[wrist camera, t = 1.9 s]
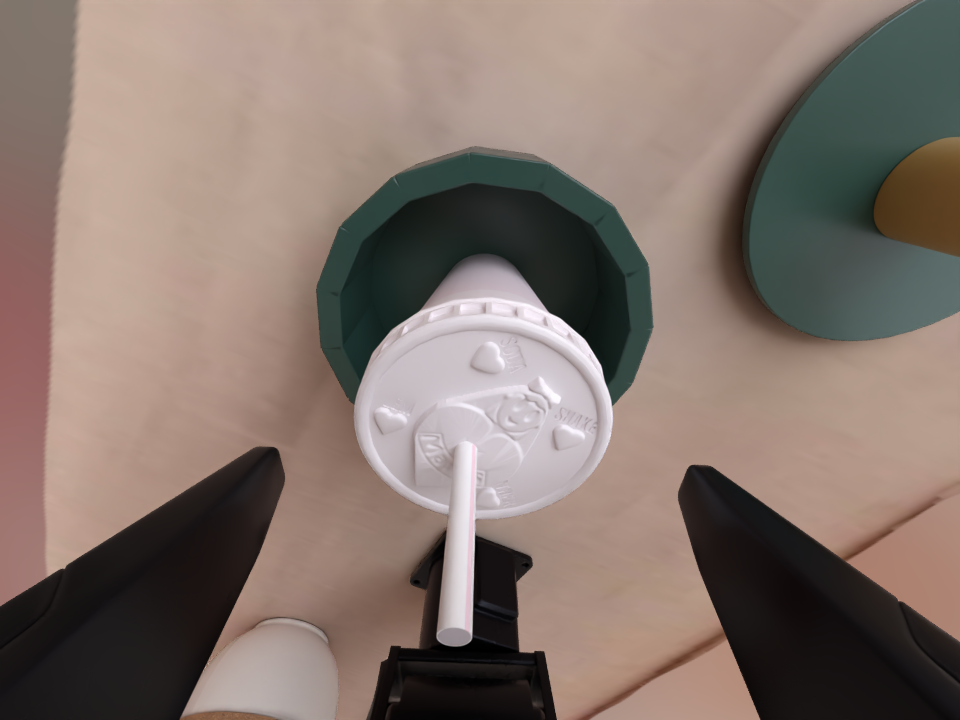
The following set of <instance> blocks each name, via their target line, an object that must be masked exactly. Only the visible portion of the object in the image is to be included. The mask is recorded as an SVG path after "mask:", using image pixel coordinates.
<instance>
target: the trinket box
mask: <svg viewBox="0 0 960 720" xmlns="http://www.w3.org/2000/svg"><path fill="white" fill-rule="evenodd" d="M338 699H339V673H338V668H337V664H336V660H335V658H334V655H333V653H332V651H331V650H330V648H329V646H328V638H327V637H326V635H325V634H324V633H323V632H322V631H321V630H320V629H318V628H317V627H315V626H313V625H311V624H309V623H306V622H303V621H300V620H295V619H289V618H274V619H268V620H265V621H262V622H260V623H259V624H257V625H256V626H255V628H254V629H252V630H250V631H248V632H246V633H244V634H243V635H241V636H239V637H238V638H236V639H235V640H233V641H232V642H231V643H229V644H228V645H227V646H226V647H224V648H223V649H222V650H221V651H220V653H219V654H218V655H217V656H216V657H215V658H214V659H213V660H212V661H211V662H210V663H209V665H208V666H207V667H206V669H205V670H204V671H203V672H202V674H201V676H200V678H199V680H198V683H197V685H196V687H195V689H194V691H193V693H192V695H191V697H190V699H189V701H188V703H187V705H186V708H185V710H184V712H183V714H182V716H181V718H180V720H336V715H337V708H338Z"/></svg>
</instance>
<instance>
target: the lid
mask: <svg viewBox="0 0 960 720" xmlns="http://www.w3.org/2000/svg"><path fill="white" fill-rule="evenodd" d="M742 245H743V257H744V262H745V268H746V272H747V275H748V277H749V280H750V283H751V286H752V288H753V289H754V291H755V293H756V294H757V296H758V298H759V299H760V301H761V302H762V303H763V304H764V305H765V306H766V308H767V309H768V310H769V311H770V312H771V313H773V314H774V315H775V316H776V317H778V318H779V319H780V320H781V321H783V322H784V323H786V324H788V325H789V326H791V327H793V328H795V329H797V330H799V331H801V332H803V333H806V334H809V335H812V336H815V337H820V338H825V339H830V340H841V341H862V340H873V339H880V338H886V337H891V336H895V335H899V334H903V333H907V332H911V331H914V330H916V329H919V328H922V327H925V326H928V325H931V324H933V323H935V322H938V321H940V320H942V319H944V318H947V317H949V316H951V315H953V314H955V313H957V312H959V311H960V0H916V1H914V2H912V3H911V4H909V5H907V6H905V7H903V8H902V9H900V10H899V11H897V12H895V13H894V14H892V15H891V16H889V17H888V18H886V19H885V20H883V21H882V22H880V23H879V24H877V25H876V26H874V27H873V28H872V29H870V30H869V31H868V32H867V33H865V34H864V35H863V36H862V37H860V38H859V39H858V40H857V41H855V42H854V43H853V44H852V45H850V46H849V47H848V48H847V49H846V50H845V51H844V52H843V53H842V54H841V55H839V56H838V57H837V58H836V59H835V60H834V61H833V62H832V63H831V64H830V65H829V66H828V67H827V68H826V69H825V70H824V71H823V72H822V73H821V74H820V75H819V76H818V78H817V79H816V80H815V81H814V82H813V83H812V84H811V85H810V87H809V88H808V89H807V90H806V91H805V92H804V93H803V95H802V96H801V97H800V99H799V100H798V101H797V103H796V104H795V105H794V107H793V108H792V110H791V111H790V112H789V114H788V115H787V116H786V118H785V119H784V121H783V122H782V124H781V126H780V127H779V129H778V131H777V132H776V134H775V136H774V137H773V139H772V141H771V142H770V144H769V146H768V148H767V150H766V152H765V154H764V156H763V158H762V161H761V163H760V165H759V167H758V169H757V172H756V175H755V178H754V180H753V183H752V186H751V189H750V192H749V196H748V200H747V204H746V209H745V213H744V222H743V231H742Z"/></svg>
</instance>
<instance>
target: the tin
mask: <svg viewBox="0 0 960 720" xmlns="http://www.w3.org/2000/svg"><path fill="white" fill-rule="evenodd" d="M475 254H493V255H497V256H500V257H502V258H504V259H506V260H508V261H509V262H510V263H512V264H513V265H514V266H515V267H516V268H517V270H518V271H519V272H520V274H521V275H522V276H523V278H524V279H525V281H526V282H527V283H528V285H529V286H530V287H531V289H532V290H533V292H534V293H535V294H536V296H537V297H538V298H539V300H540V301H541V303H542V304H543V305H544V307H545V308H546V309H547V311H548V312H549V313H550V314H552V315H554V316H556V317H559V318H560V319H562V320H563V321H564V322H565V323H566V324H567V325H569V326H570V327H571V328H572V329H573V330H574V331H576V332H577V333H578V334H579V335H580V336H581V337H582V338H584V339H585V340H586V342H587V344H588V345H589V347H590V349H591V350H592V352H593V353H594V355H595V357H596V358H597V360H598V361H599V363H600V365H601V367H602V372H603V376H604V380H605V383H606V386H607V388H608V391H609V394H610V398H611V403H612V406H613V405H614V404H615V403H616V402H617V401H618V399H619V398H620V397H621V396H622V395H623V394H624V393H625V392H626V391H627V390H628V388H629V387H630V386H631V385H632V383H633V382H634V379H635V376H636V374H637V371H638V368H639V365H640V363H641V360H642V357H643V355H644V352H645V349H646V346H647V344H648V341H649V338H650V336H651V333H652V328H653V315H652V301H651V287H650V274H649V266H648V263H647V261H646V259H645V257H644V256H643V254H642V252H641V251H640V249H639V247H638V246H637V244H636V242H635V240H634V239H633V237H632V235H631V234H630V232H629V230H628V228H627V227H626V225H625V223H624V222H623V220H622V218H621V216H620V215H619V213H618V211H617V210H616V208H615V206H613V205H612V204H611V203H610V202H608V201H607V200H605V199H604V198H602V197H601V196H599V195H598V194H596V193H595V192H593V191H592V190H590V189H589V188H587V187H586V186H584V185H583V184H581V183H580V182H578V181H577V180H575V179H574V178H572V177H571V176H569V175H568V174H566V173H564V172H563V171H561V170H560V169H558V168H557V167H555V166H554V165H552V164H551V163H549V162H547V161H545V160H543V159H541V158H539V157H537V156H535V155H533V154H526V153H519V152H512V151H506V150H498V149H490V148H483V147H476V146H475V147H470V148H466V149H463V150H460V151H457V152H454V153H450V154H447V155H444V156H441V157H438V158H434V159H431V160H428V161H425V162H422V163H418V164H416V165H414V166H412V167H410V168H408V169H406V170H404V171H402V172H400V173H398V174H397V175H395V176H393V177H391V178H390V179H389V180H388V181H387V182H386V183H385V184H384V185H383V186H382V187H381V188H380V189H379V190H378V191H376V192H375V193H374V194H373V195H372V196H371V197H370V198H369V199H368V200H367V201H366V202H365V203H364V204H362V205H361V206H360V207H359V208H358V209H357V210H356V211H355V212H354V213H353V214H352V215H351V216H350V217H348V218H347V219H346V220H345V221H344V222H343V223H342V225H341V226H340V227H339V229H338V232H337V234H336V237H335V239H334V242H333V245H332V247H331V250H330V252H329V255H328V258H327V260H326V263H325V266H324V268H323V271H322V273H321V276H320V279H319V281H318V284H317V289H316V293H317V305H318V318H319V330H320V343H321V348H322V351H323V353H324V354H325V356H326V358H327V360H328V362H329V364H330V366H331V368H332V370H333V371H334V373H335V375H336V377H337V379H338V381H339V383H340V385H341V387H342V388H343V390H344V392H345V394H346V396H347V398H349V401H351V402H352V403H353V404H354V405H355V401H356V395H357V392H358V389H359V386H360V384H361V382H362V378H363V376H364V373H365V371H366V368H367V365H368V363H369V360H370V358H371V355H372V353H373V352H374V351H375V349H376V348H377V347H378V346H379V345H380V343H381V342H382V341H383V340H384V339H385V337H386V336H387V335H388V334H389V333H390V331H391V330H392V329H393V328H395V327H396V326H398V325H399V324H401V323H402V322H404V321H405V320H407V319H408V318H410V317H411V316H413V315H414V314H416V313H417V312H419V311H420V310H421V309H422V308H423V306H424V305H425V304H426V302H427V301H428V300H429V298H430V297H431V296H432V294H433V293H434V292H435V290H436V289H437V288H438V286H439V285H440V284H441V282H442V281H443V280H444V278H445V277H446V276H447V274H448V273H449V272H450V270H451V269H452V268H453V267H454V266H455V265H456V264H457V263H458V262H459V261H461V260H462V259H464V258H466V257H469V256H471V255H475Z"/></svg>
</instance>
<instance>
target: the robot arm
mask: <svg viewBox="0 0 960 720" xmlns="http://www.w3.org/2000/svg"><path fill="white" fill-rule="evenodd" d="M284 482H285V473H284V469H283V466H282V462H281V458H280V454H279V451H278V450H277V448H275V447H262V446H259V447H255V448H253V449H251V450H250V451H248V452H247V453H245V454H243V455H242V456H240V457H239V458H237V459H235V460H234V461H232V462H231V463H229V464H227V465H226V466H224V467H223V468H221V469H219V470H218V471H216V472H215V473H213V474H212V475H210V476H208V477H207V478H205V479H204V480H202V481H200V482H199V483H197V484H196V485H194V486H192V487H191V488H189V489H188V490H186V491H184V492H183V493H181V494H180V495H178V496H176V497H175V498H173V499H172V500H170V501H168V502H167V503H165V504H164V505H162V506H160V507H159V508H157V509H156V510H154V511H152V512H151V513H149V514H148V515H146V516H145V517H143V518H141V519H140V520H138V521H137V522H135V523H133V524H132V525H130V526H129V527H127V528H125V529H124V530H122V531H121V532H119V533H117V534H116V535H114V536H113V537H111V538H109V539H108V540H106V541H105V542H103V543H101V544H100V545H98V546H97V547H95V548H93V549H92V550H90V551H89V552H87V553H85V554H84V555H82V556H81V557H79V558H77V559H76V560H74V561H73V562H71V563H69V564H68V565H67V566H66V568H65V569H60V570H58V571H57V572H55V573H53V574H52V575H50V576H49V577H47V578H45V579H44V580H42V581H41V582H39V583H37V584H36V585H34V586H33V587H31V588H29V589H28V590H26V591H24V592H23V593H21V594H20V595H18V596H16V597H15V598H13V599H11V600H10V601H8V602H6V603H5V604H3V605H2V606H0V720H180V718H181V716H182V714H183V712H184V710H185V708H186V705H187V703H188V701H189V699H190V697H191V695H192V693H193V691H194V689H195V687H196V685H197V683H198V680H199V678H200V676H201V674H202V672H203V670H204V668H205V666H206V664H207V662H208V660H209V658H210V655H211V653H212V651H213V649H214V647H215V645H216V643H217V641H218V639H219V637H220V635H221V633H222V630H223V628H224V626H225V624H226V622H227V620H228V618H229V616H230V614H231V612H232V610H233V608H234V605H235V603H236V601H237V599H238V597H239V595H240V593H241V591H242V589H243V587H244V585H245V583H246V580H247V578H248V576H249V574H250V572H251V570H252V568H253V566H254V564H255V562H256V559H257V557H258V555H259V553H260V550H261V548H262V545H263V542H264V540H265V537H266V534H267V531H268V529H269V526H270V523H271V520H272V517H273V514H274V512H275V509H276V506H277V503H278V500H279V498H280V495H281V492H282V489H283V486H284ZM678 501H679V505H680V508H681V511H682V515H683V518H684V522H685V525H686V528H687V532H688V535H689V538H690V542H691V545H692V549H693V552H694V555H695V559H696V562H697V565H698V568H699V571H700V573H701V576H702V579H703V581H704V584H705V586H706V588H707V591H708V593H709V596H710V598H711V601H712V603H713V605H714V608H715V610H716V613H717V615H718V618H719V620H720V623H721V625H722V627H723V630H724V632H725V635H726V637H727V640H728V642H729V644H730V647H731V649H732V652H733V654H734V657H735V659H736V661H737V664H738V666H739V669H740V671H741V673H742V676H743V678H744V681H745V683H746V685H747V688H748V691H749V693H750V696H751V698H752V700H753V703H754V705H755V707H756V710H757V713H758V715H759V717H760V720H960V642H959V641H958V640H956V639H955V638H953V637H952V636H951V635H949V634H948V633H946V632H945V631H943V630H942V629H940V628H939V627H938V626H936V625H935V624H933V623H932V622H930V621H929V620H927V619H926V618H925V617H923V616H922V615H920V614H919V613H917V612H916V611H915V610H913V609H912V608H911V607H909V606H908V605H906V604H905V603H903V602H901V601H899V602H898V599H897V598H896V597H895V596H894V595H892V594H891V593H889V592H888V591H886V590H885V589H883V588H882V587H881V586H879V585H878V584H877V583H875V582H873V581H872V580H871V579H870V578H868V577H867V576H865V575H864V574H862V573H861V572H860V571H858V570H857V569H855V568H854V567H853V566H851V565H850V564H848V563H847V562H846V561H844V560H843V559H841V558H840V557H839V556H837V555H836V554H834V553H833V552H831V551H830V550H829V549H827V548H826V547H824V546H823V545H822V544H820V543H819V542H817V541H816V540H815V539H813V538H812V537H810V536H809V535H807V534H806V533H805V532H803V531H802V530H800V529H799V528H798V527H796V526H795V525H793V524H792V523H791V522H789V521H788V520H786V519H785V518H784V517H782V516H781V515H779V514H778V513H776V512H775V511H774V510H772V509H771V508H769V507H768V506H767V505H765V504H764V503H762V502H761V501H760V500H758V499H757V498H755V497H754V496H752V495H751V494H750V493H748V492H747V491H745V490H744V489H743V488H741V487H740V486H738V485H737V484H736V483H734V482H733V481H731V480H730V479H728V478H727V477H726V476H724V475H723V474H721V473H720V472H719V471H717V470H716V469H714V468H713V467H711V466H708V465H691V466H689V467H688V469H687V471H686V474H685V476H684V479H683V481H682V484H681V486H680V489H679V492H678ZM446 533H447V531H446V532H445V533H444V534H443V536H442V537H441V538H440V539H439V541H438V542H437V543H436V544H435V546H434V547H433V548H432V549H431V551H430V552H429V553H428V554H427V556H426V557H425V558H424V559H423V561H422V562H421V563H420V564H419V566H418V567H417V568H416V569H415V571H414V572H413V573H412V574H411V577H410V583H411V584H412V585H413V586H416V587H419V588H422V589H425V590H426V596H425V603H424V611H423V619H422V627H421V634H420V642H419V649H415V648H401V646H391V648H390V652H389V656H388V659H387V660H385V661H383V662H381V666H380V671H379V676H378V681H377V686H376V691H375V695H374V699H373V702H372V705H371V708H370V711H369V714H368V716H367V719H366V720H557V718H556V713H555V707H554V702H553V696H552V691H551V685H550V680H549V675H548V669H547V664H546V658H545V653H544V651H534V653H525V652H519V639H518V623H517V617H518V614H519V613H518V598H517V584H516V582H517V581H518V580H519V579H520V578H521V577H522V576H523V575H524V574H525V573H526V572H527V571H528V570H529V569H530V568H532V566H533V563H532V558H531V557H530V556H528V555H526V554H523V553H520V552H518V551H515V550H513V549H510V548H507V547H505V546H502V545H499V544H497V543H494V542H492V541H489V540H486V539H484V538H481V537H478V536H476V535H475V552H474V589H473V626H472V640H471V641H470V642H469V643H468V644H466V645H463V646H448V645H445V644H442V643H441V642H439V641H438V639H437V637H436V636H437V625H438V615H439V605H440V595H441V584H442V574H443V564H444V554H445V543H446Z"/></svg>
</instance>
